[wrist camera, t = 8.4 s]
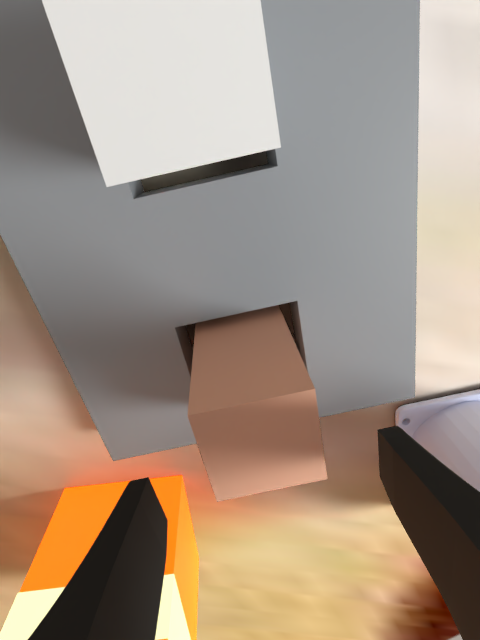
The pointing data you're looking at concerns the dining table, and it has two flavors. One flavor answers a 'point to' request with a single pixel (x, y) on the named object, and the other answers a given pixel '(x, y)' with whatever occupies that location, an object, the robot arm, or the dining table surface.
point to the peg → (253, 406)
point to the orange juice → (77, 538)
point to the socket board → (212, 191)
